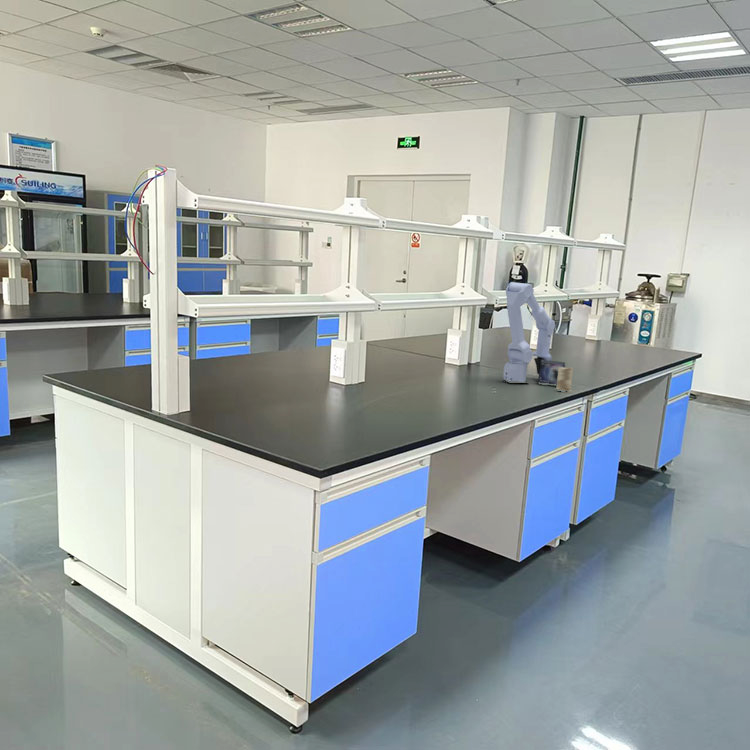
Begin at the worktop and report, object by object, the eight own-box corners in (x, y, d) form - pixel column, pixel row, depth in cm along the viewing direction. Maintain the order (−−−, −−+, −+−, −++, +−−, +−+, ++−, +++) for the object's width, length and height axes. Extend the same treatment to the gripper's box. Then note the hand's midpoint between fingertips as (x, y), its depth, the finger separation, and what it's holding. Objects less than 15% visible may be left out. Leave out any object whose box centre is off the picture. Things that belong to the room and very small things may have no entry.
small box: (537, 385, 286) (540, 361, 284) (538, 382, 292) (540, 359, 290) (562, 387, 283) (565, 364, 281) (562, 385, 289) (565, 362, 287)
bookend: (559, 392, 273) (562, 368, 271) (555, 390, 276) (558, 367, 274) (572, 392, 274) (575, 369, 272) (568, 391, 277) (571, 367, 275)
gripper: (559, 347, 289) (555, 377, 291) (544, 342, 302) (540, 371, 305) (544, 346, 287) (541, 377, 289) (530, 341, 301) (526, 370, 303)
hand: (540, 374), depth 297 cm, fingers closed
